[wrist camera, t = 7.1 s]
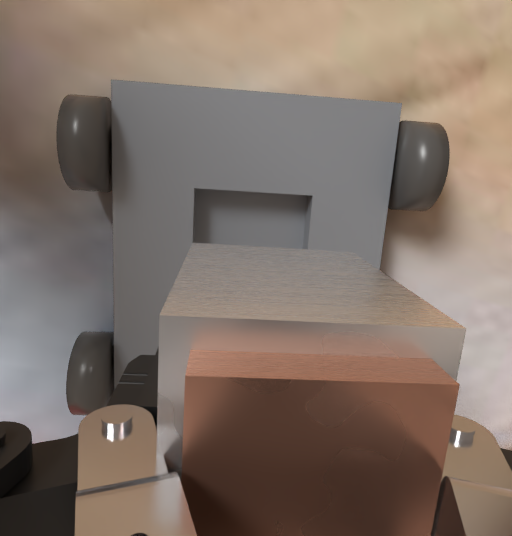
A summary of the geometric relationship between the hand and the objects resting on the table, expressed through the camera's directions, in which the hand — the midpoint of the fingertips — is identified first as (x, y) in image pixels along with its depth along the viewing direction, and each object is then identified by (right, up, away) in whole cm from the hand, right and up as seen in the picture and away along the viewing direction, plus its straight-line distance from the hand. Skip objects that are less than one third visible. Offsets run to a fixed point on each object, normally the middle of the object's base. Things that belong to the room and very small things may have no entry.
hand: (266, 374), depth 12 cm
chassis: (-1, +3, +13) cm, 13 cm away
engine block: (0, 0, +1) cm, 1 cm away
